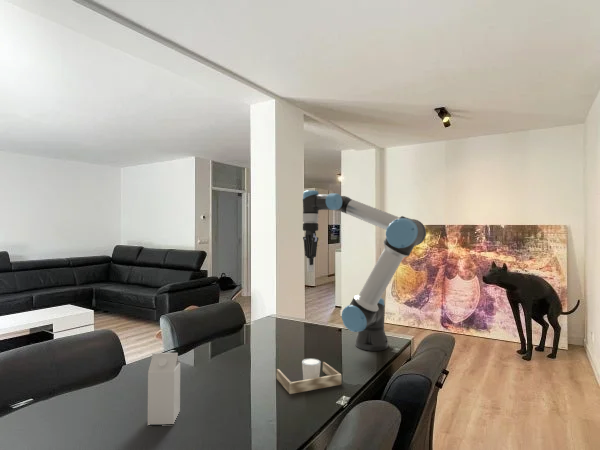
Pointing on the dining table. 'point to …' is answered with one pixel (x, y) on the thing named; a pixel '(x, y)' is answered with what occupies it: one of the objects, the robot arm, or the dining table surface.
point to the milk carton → (163, 388)
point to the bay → (311, 381)
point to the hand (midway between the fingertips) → (310, 271)
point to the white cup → (311, 368)
